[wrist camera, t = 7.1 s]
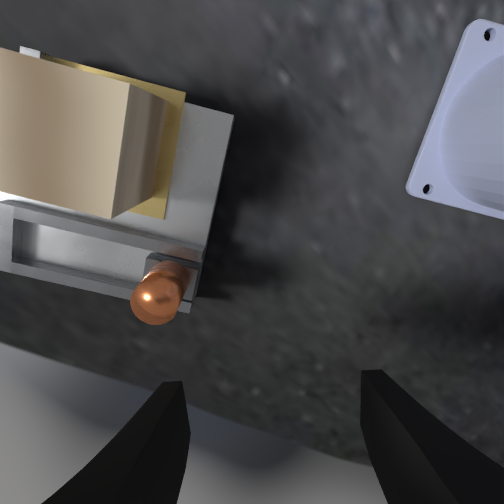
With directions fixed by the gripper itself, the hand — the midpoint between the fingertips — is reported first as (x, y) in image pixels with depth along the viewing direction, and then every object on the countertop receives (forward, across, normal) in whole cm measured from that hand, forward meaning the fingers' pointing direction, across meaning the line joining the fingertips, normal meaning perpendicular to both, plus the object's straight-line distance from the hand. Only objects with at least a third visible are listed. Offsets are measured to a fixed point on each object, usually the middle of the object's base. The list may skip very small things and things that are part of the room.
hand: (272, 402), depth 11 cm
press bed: (+9, +8, -6) cm, 14 cm away
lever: (+8, +5, -2) cm, 9 cm away
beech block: (+8, +7, -8) cm, 13 cm away
